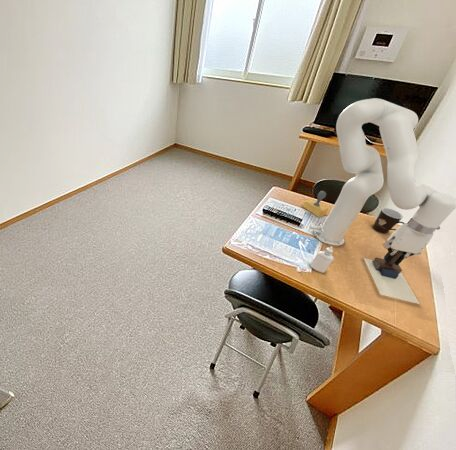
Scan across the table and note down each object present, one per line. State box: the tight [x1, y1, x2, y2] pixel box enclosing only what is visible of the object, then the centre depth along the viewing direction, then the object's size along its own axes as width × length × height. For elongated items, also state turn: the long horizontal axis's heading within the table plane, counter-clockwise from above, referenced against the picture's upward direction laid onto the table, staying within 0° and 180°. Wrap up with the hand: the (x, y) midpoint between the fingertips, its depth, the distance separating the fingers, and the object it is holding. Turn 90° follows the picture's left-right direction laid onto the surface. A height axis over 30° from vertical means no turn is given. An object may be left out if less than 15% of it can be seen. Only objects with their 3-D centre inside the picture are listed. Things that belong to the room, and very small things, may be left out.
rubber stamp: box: [302, 190, 329, 218], centre depth 141 cm, size 10×6×12 cm, turn 27°
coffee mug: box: [372, 207, 405, 235], centre depth 131 cm, size 12×9×10 cm
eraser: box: [380, 268, 399, 279], centre depth 108 cm, size 5×2×2 cm, turn 75°
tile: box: [363, 257, 420, 305], centre depth 107 cm, size 13×20×1 cm, turn 164°
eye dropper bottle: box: [310, 245, 334, 274], centre depth 106 cm, size 4×6×12 cm
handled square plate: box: [372, 250, 403, 275], centre depth 109 cm, size 8×5×10 cm, turn 75°
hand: (390, 261), depth 109 cm, fingers closed on handled square plate, 2 cm apart
